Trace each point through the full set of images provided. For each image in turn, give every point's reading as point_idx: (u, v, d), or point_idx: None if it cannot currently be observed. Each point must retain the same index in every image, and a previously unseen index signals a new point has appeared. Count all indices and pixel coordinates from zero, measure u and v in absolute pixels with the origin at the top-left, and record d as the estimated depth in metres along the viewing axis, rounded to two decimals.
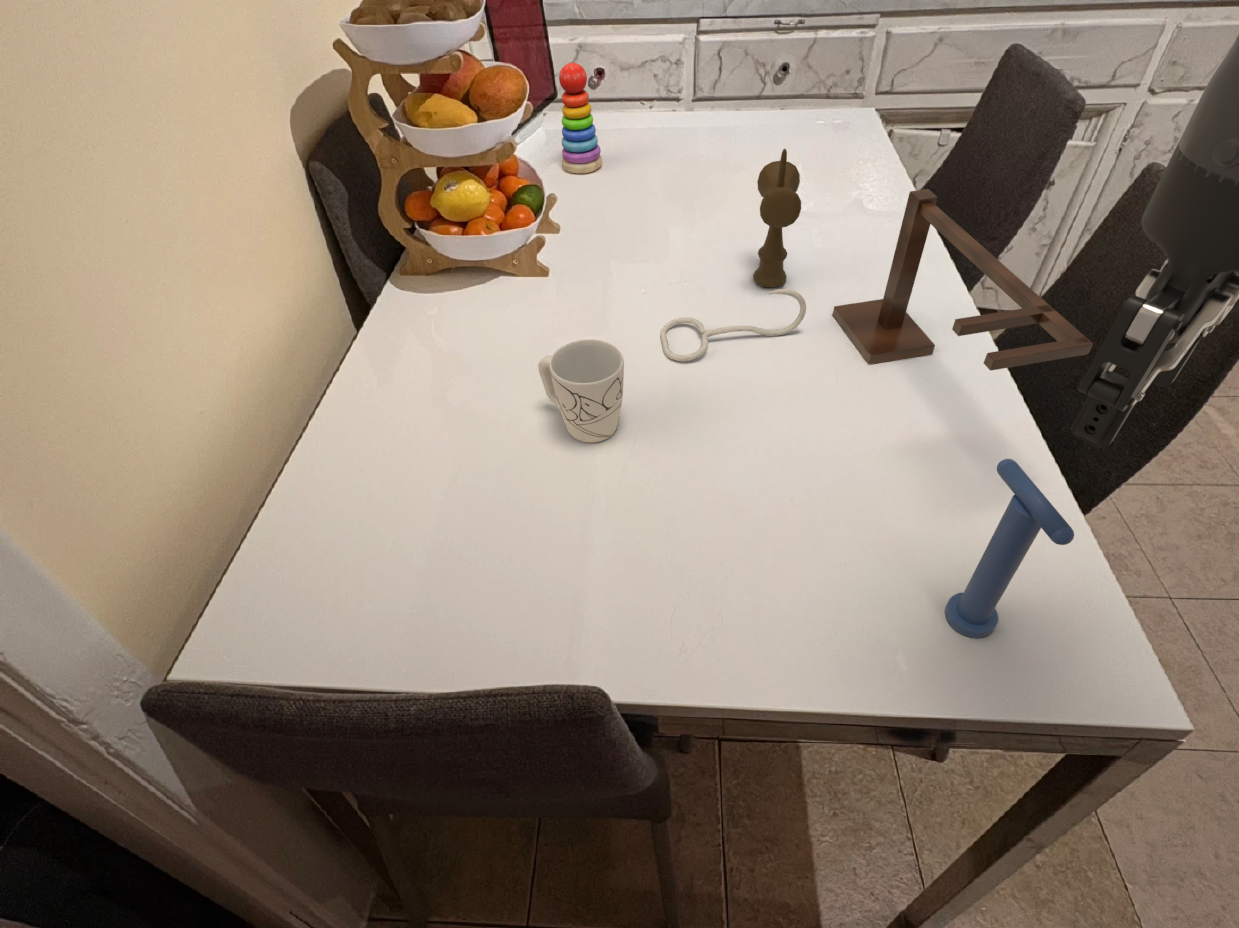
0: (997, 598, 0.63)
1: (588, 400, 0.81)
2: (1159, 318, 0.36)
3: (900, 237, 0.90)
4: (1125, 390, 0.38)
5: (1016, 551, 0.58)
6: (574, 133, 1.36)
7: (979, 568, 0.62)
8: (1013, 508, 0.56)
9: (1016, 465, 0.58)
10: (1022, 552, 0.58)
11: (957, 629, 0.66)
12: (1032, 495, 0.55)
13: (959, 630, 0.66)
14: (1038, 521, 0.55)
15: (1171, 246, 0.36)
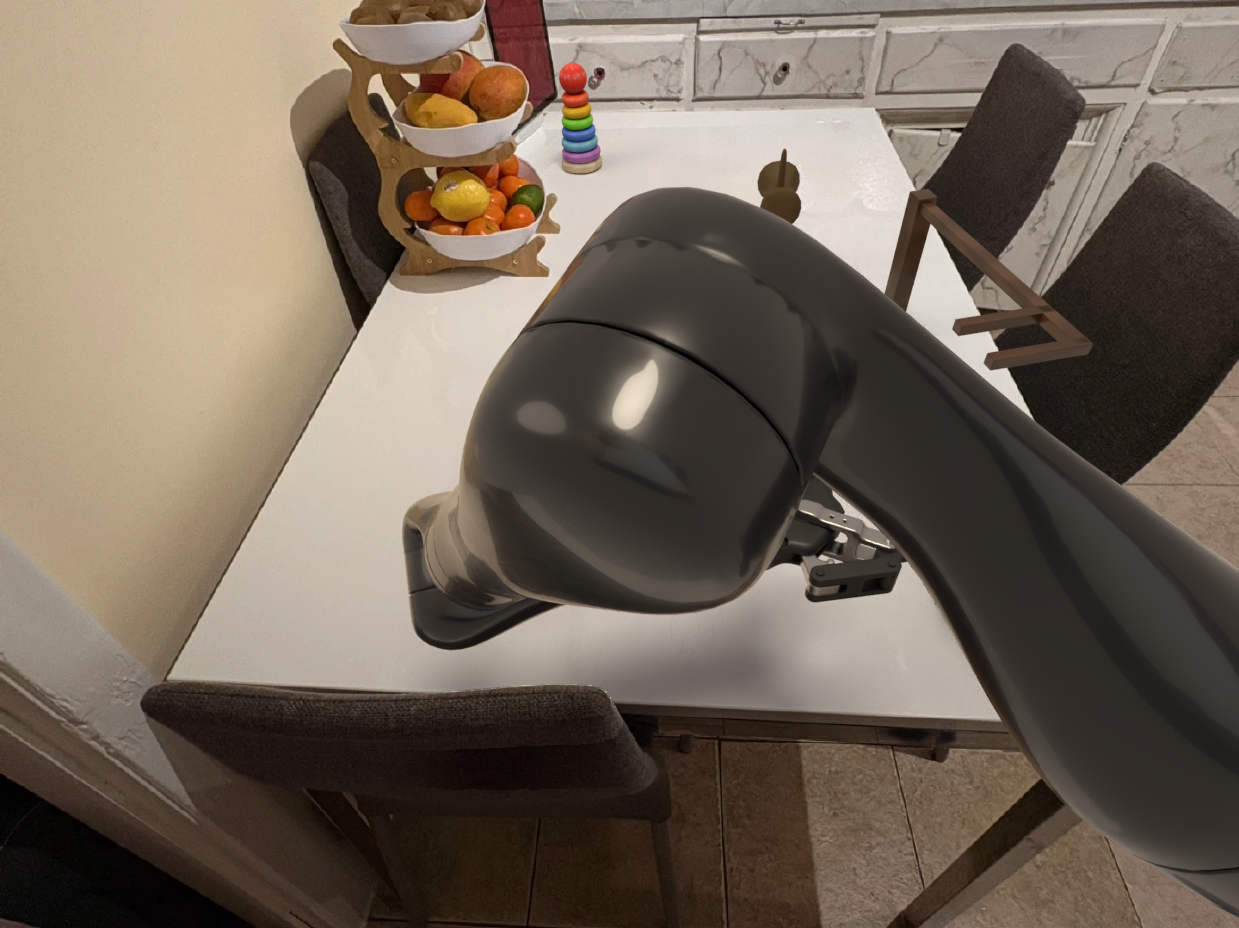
0: None
1: None
2: (817, 586, 0.46)
3: (900, 237, 0.90)
4: (881, 576, 0.46)
5: None
6: (574, 133, 1.36)
7: None
8: None
9: None
10: None
11: None
12: None
13: None
14: None
15: (767, 568, 0.49)
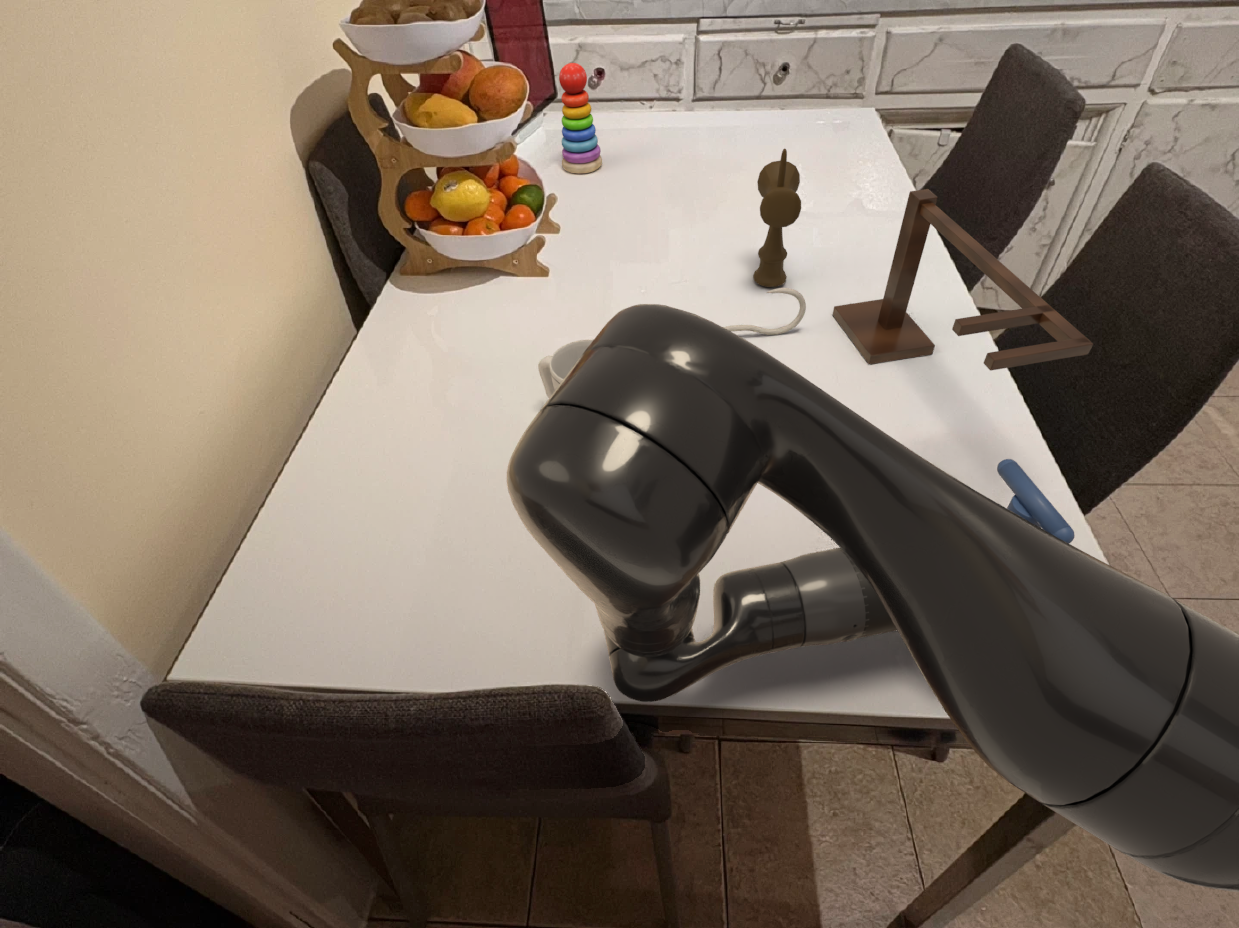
0: None
1: None
2: None
3: (900, 237, 0.90)
4: None
5: None
6: (574, 133, 1.36)
7: None
8: (1014, 508, 0.56)
9: (1016, 465, 0.58)
10: None
11: None
12: (1032, 495, 0.55)
13: None
14: (1038, 521, 0.55)
15: None
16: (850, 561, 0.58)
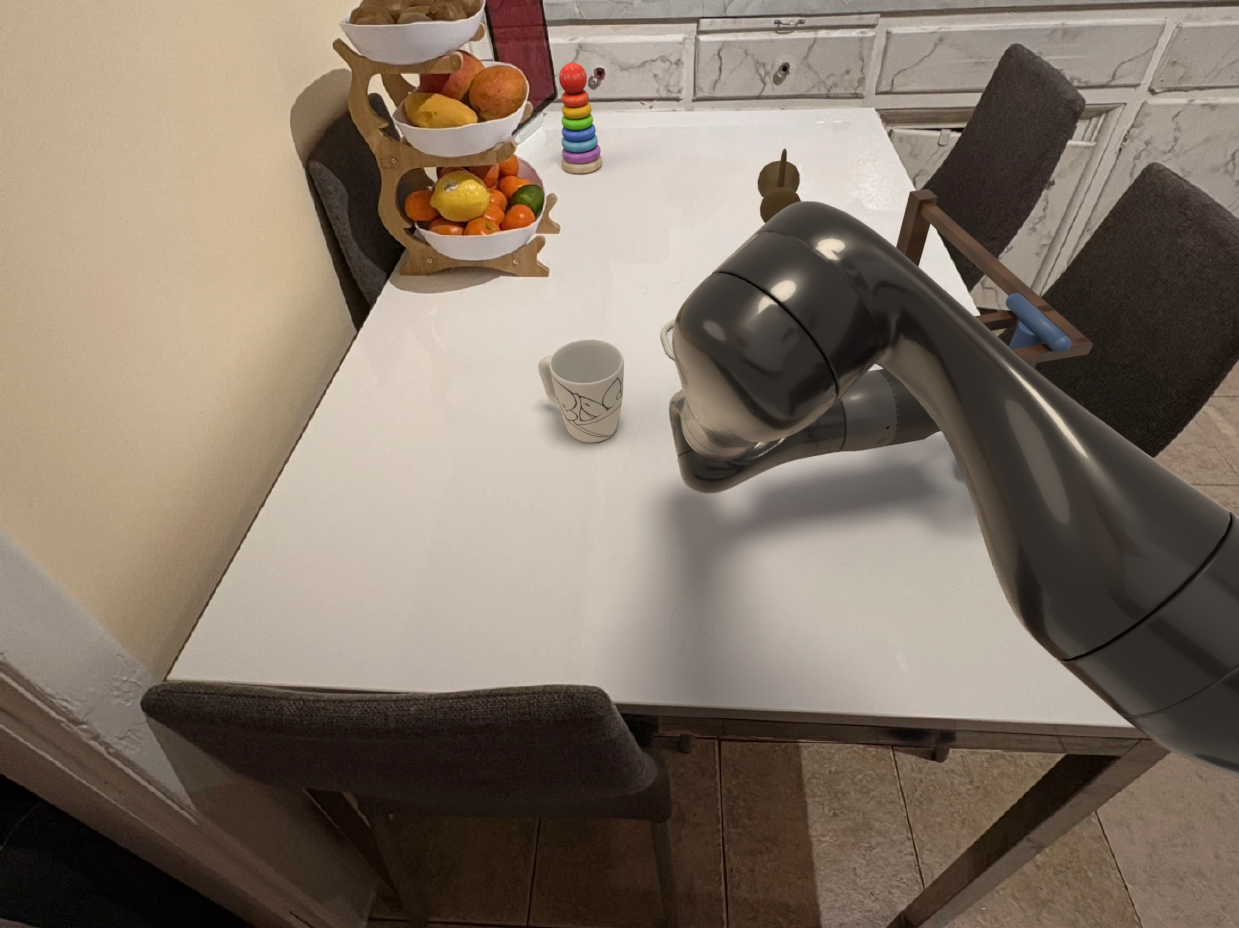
0: None
1: (588, 400, 0.81)
2: None
3: (900, 237, 0.90)
4: None
5: None
6: (574, 133, 1.36)
7: None
8: (1020, 330, 0.67)
9: (1022, 297, 0.68)
10: None
11: None
12: (1036, 316, 0.66)
13: None
14: (1041, 336, 0.65)
15: (928, 435, 0.69)
16: (883, 375, 0.68)
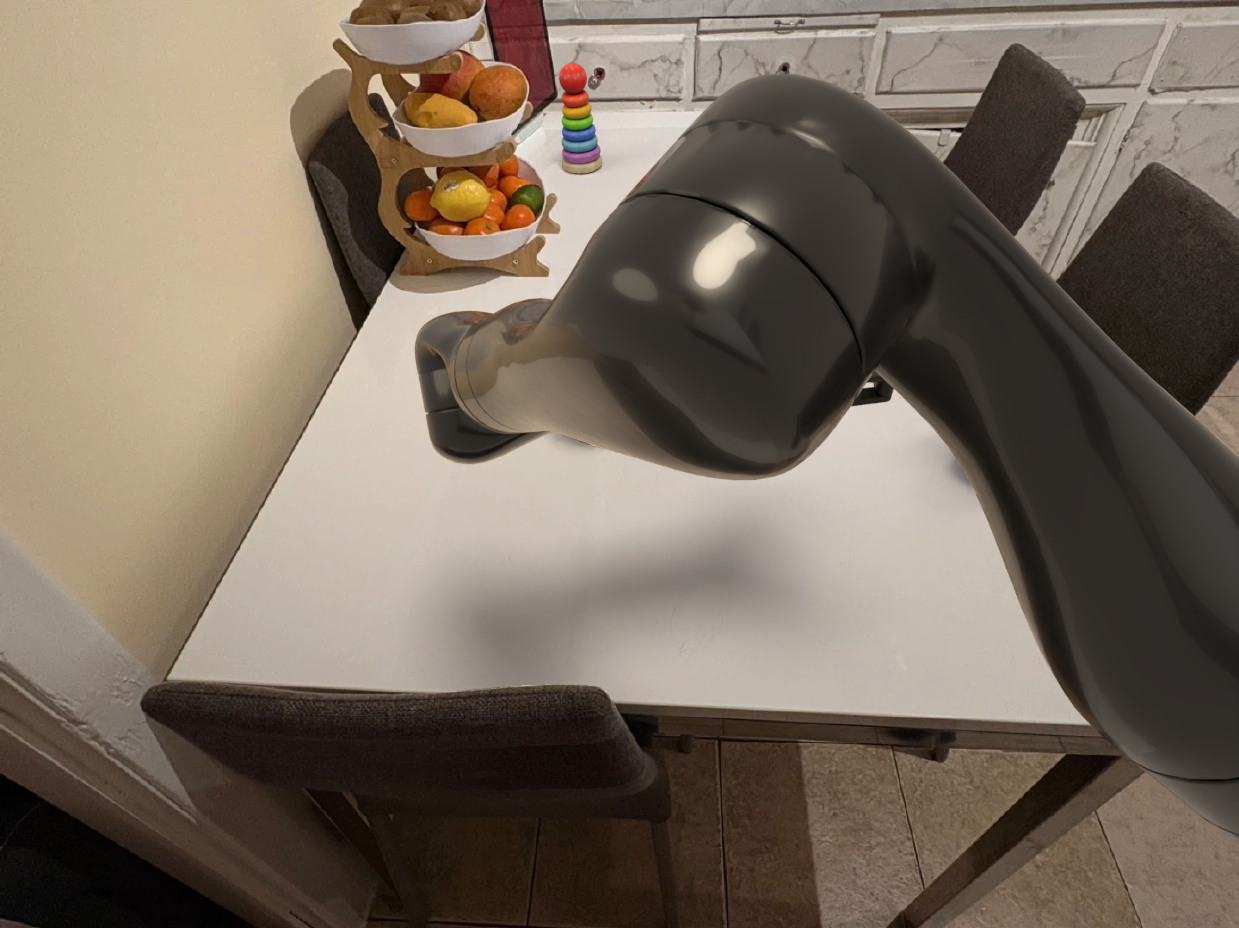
0: None
1: None
2: None
3: None
4: (880, 380, 0.48)
5: None
6: (574, 133, 1.36)
7: None
8: None
9: None
10: None
11: None
12: None
13: None
14: None
15: None
16: None
